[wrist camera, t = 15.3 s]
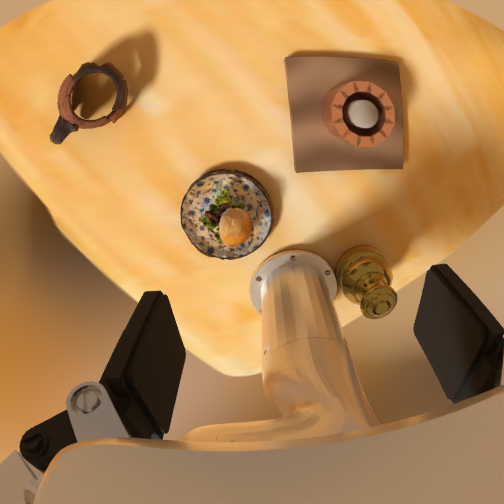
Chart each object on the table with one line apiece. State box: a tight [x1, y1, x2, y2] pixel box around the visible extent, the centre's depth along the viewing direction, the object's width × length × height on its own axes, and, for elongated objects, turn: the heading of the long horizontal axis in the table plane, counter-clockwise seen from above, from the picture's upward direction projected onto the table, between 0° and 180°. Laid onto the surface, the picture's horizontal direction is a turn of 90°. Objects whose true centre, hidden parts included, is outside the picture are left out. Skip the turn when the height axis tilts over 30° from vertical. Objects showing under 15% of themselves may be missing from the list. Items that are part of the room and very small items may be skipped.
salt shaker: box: [337, 246, 397, 319], centre depth 37 cm, size 7×7×10 cm
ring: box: [321, 81, 395, 147], centre depth 28 cm, size 7×7×5 cm
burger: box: [181, 169, 273, 260], centre depth 35 cm, size 12×12×8 cm
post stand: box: [284, 57, 403, 173], centre depth 29 cm, size 14×14×6 cm
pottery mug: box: [50, 62, 128, 144], centre depth 29 cm, size 12×10×8 cm
